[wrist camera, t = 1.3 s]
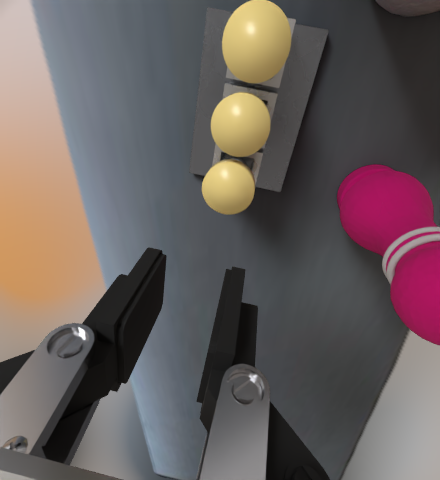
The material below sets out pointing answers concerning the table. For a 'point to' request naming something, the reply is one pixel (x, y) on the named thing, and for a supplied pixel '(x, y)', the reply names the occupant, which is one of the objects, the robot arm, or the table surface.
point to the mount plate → (270, 92)
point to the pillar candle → (410, 7)
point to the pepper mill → (397, 240)
